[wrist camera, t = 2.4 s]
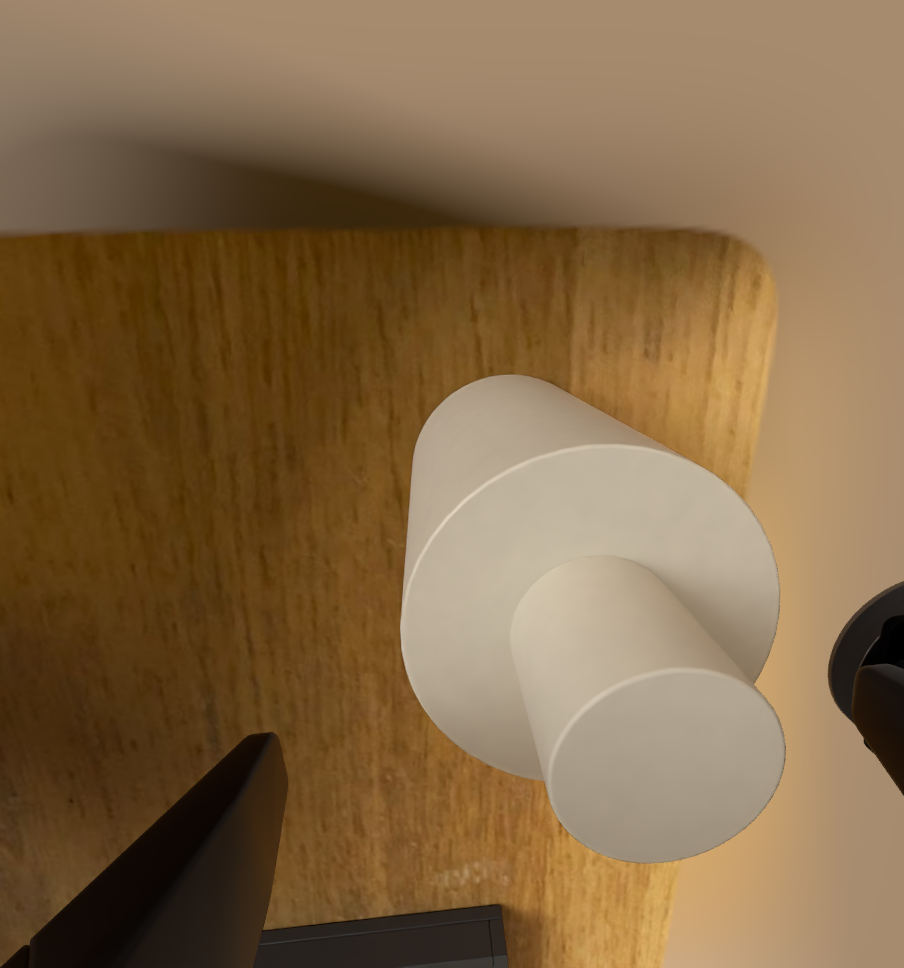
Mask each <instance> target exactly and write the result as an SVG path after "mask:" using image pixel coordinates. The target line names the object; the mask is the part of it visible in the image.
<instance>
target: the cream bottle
mask: <svg viewBox="0 0 904 968" xmlns="http://www.w3.org/2000/svg"><path fill="white" fill-rule="evenodd" d="M779 611H780V586H779V577H778V568H777V565H776V561H775V558H774V554H773V551H772V547H771V544H770V542H769V540H768V538H767V536H766V533H765V531H764V529H763V527H762V525H761V524H760V522H759V520H758V519H757V517H756V516H755V514H754V513H753V511H752V510H751V508H750V507H749V505H748V504H747V503H746V502H745V501H744V500H743V499H742V498H741V497H740V496H739V495H738V494H737V492H736V491H735V490H734V489H733V488H732V487H730V486H729V485H728V484H727V483H725V482H724V481H723V480H721V479H720V478H719V477H718V476H716V475H715V474H714V473H712V472H710V471H709V470H707V469H705V468H703V467H702V466H700V465H698V464H696V463H695V462H693V461H691V460H689V459H687V458H686V457H684V456H682V455H680V454H678V453H677V452H675V451H673V450H671V449H669V448H667V447H666V446H664V445H662V444H660V443H658V442H657V441H655V440H653V439H651V438H649V437H648V436H646V435H644V434H642V433H640V432H638V431H637V430H635V429H633V428H631V427H629V426H628V425H626V424H624V423H622V422H620V421H618V420H617V419H615V418H613V417H611V416H609V415H608V414H606V413H604V412H602V411H600V410H598V409H597V408H595V407H593V406H591V405H589V404H588V403H586V402H584V401H582V400H580V399H578V398H577V397H575V396H573V395H571V394H569V393H568V392H566V391H564V390H562V389H560V388H558V387H557V386H555V385H553V384H551V383H548V382H546V381H543V380H541V379H537V378H533V377H529V376H523V375H499V376H492V377H487V378H484V379H481V380H477V381H475V382H473V383H470V384H468V385H466V386H464V387H462V388H461V389H459V390H457V391H456V392H454V393H453V394H451V395H450V396H449V397H448V398H446V399H445V400H444V401H443V402H442V403H441V404H440V405H439V406H438V407H437V408H436V409H435V410H434V411H433V413H432V414H431V416H430V417H429V418H428V420H427V421H426V423H425V425H424V427H423V429H422V430H421V432H420V435H419V438H418V440H417V443H416V447H415V451H414V455H413V465H412V478H411V491H410V504H409V517H408V531H407V544H406V557H405V570H404V584H403V597H402V610H401V623H400V631H401V649H402V654H403V659H404V664H405V668H406V672H407V675H408V677H409V680H410V683H411V685H412V688H413V691H414V692H415V694H416V696H417V698H418V700H419V701H420V703H421V705H422V707H423V709H424V710H425V711H426V713H427V714H428V715H429V717H430V718H431V719H432V721H433V722H434V723H435V725H436V726H437V727H438V728H439V729H440V730H441V731H442V732H443V733H444V734H445V735H446V736H447V737H448V738H449V739H450V740H451V741H452V742H453V743H455V744H456V745H457V746H459V747H460V748H461V749H463V750H464V751H465V752H467V753H468V754H470V755H471V756H473V757H475V758H477V759H478V760H480V761H482V762H484V763H485V764H487V765H490V766H492V767H494V768H497V769H499V770H502V771H504V772H506V773H510V774H513V775H517V776H520V777H524V778H528V779H533V780H540V781H545V785H546V789H547V793H548V796H549V800H550V803H551V806H552V808H553V810H554V812H555V814H556V816H557V818H558V820H559V821H560V822H561V824H562V825H563V827H564V828H565V829H566V830H567V831H568V832H569V833H570V834H571V835H572V836H573V837H574V838H575V839H576V840H577V841H579V842H580V843H581V844H583V845H584V846H585V847H587V848H589V849H591V850H593V851H595V852H596V853H599V854H601V855H604V856H606V857H609V858H613V859H617V860H621V861H626V862H633V863H664V862H671V861H677V860H681V859H685V858H689V857H693V856H696V855H698V854H701V853H704V852H706V851H709V850H711V849H713V848H715V847H717V846H719V845H721V844H723V843H724V842H726V841H728V840H730V839H731V838H733V837H734V836H736V835H737V834H738V833H740V832H741V831H742V830H744V829H745V828H746V827H747V826H748V825H749V824H750V823H751V822H752V821H754V819H756V818H757V816H758V815H759V814H760V813H761V812H762V811H763V809H764V808H765V807H766V805H767V804H768V802H769V801H770V800H771V798H772V797H773V795H774V792H775V790H776V789H777V787H778V785H779V782H780V779H781V776H782V773H783V769H784V763H785V750H786V746H785V739H784V733H783V730H782V727H781V723H780V720H779V718H778V716H777V714H776V712H775V710H774V708H773V707H772V706H771V704H769V702H768V700H767V699H766V698H765V697H764V696H763V695H762V693H761V692H760V691H759V690H758V689H757V688H756V687H755V686H754V683H755V682H756V680H757V678H758V677H759V675H760V673H761V671H762V669H763V667H764V664H765V662H766V660H767V658H768V656H769V653H770V650H771V647H772V644H773V641H774V638H775V634H776V629H777V624H778V618H779Z"/></svg>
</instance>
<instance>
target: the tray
mask: <svg viewBox="0 0 904 968" xmlns="http://www.w3.org/2000/svg"><path fill="white" fill-rule="evenodd" d="M253 968H508V956H507V948H506V940H505V932H504V925H503V917H502V909H501V906H500V905H493V906H484V907H475V908H466V909H457V910H448V911H439V912H431V913H422V914H413V915H404V916H395V917H386V918H377V919H368V920H359V921H350V922H341V923H332V924H323V925H315V926H306V927H297V928H288V929H279V930H270V931H262V934H261V938H260V942H259V946H258V949H257V953H256V957H255V961H254V965H253Z"/></svg>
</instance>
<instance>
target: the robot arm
mask: <svg viewBox="0 0 904 968" xmlns="http://www.w3.org/2000/svg"><path fill="white" fill-rule="evenodd" d="M897 629H898V630H897ZM852 717H853V721H854V723H855V725H856V727H857V729H858V730H859V732H860V733H861V735H862V736H863V738H864V744H865V746H866V747H867V748H868V749H869V750H870V751H871V752H872V753H874V754H875V755H876V756H877V758H878V759H879V761H880V762H881V764H882V765H883V767H884V768H885V769H886V771H887V772H888V773H889V775H890V777H891V778H892V779H893V781H894V782H895V784H896V785H897V786H898V788H899V790H900V791H901V793H902V794H903V795H904V615H896V616H892V617H890V618H889V619H887V620H886V621H885V622H884V623H883V626H882V630H881V636H880V642H879V648H878V654H877V660H876V665H870V666H864V667H862V668H860V669H859V670H858V672H857V674H856V680H855V687H854V695H853V702H852ZM287 790H288V777H287V771H286V767H285V762H284V758H283V754H282V749H281V745H280V741H279V738H278V736H277V734H275V733H273V732H268V733H259V734H252V735H249V736H247V737H246V738H244V739H243V740H242V741H241V742H240V743H239V744H238V745H237V746H236V747H235V748H234V749H233V750H232V751H231V752H230V753H228V754H227V755H226V756H225V757H224V758H223V759H222V760H221V761H220V762H219V763H218V764H217V765H216V766H215V767H214V768H213V769H211V770H210V771H209V772H208V773H207V774H206V775H205V776H204V777H203V778H202V779H201V780H200V781H199V782H198V783H197V784H195V785H194V786H193V787H192V788H191V789H190V790H189V791H188V792H187V793H186V794H185V795H184V796H183V797H182V798H181V799H179V800H178V801H177V802H176V803H175V804H174V805H173V806H172V807H171V808H170V809H169V810H168V811H167V812H166V813H165V814H164V815H162V816H161V817H160V818H159V819H158V820H157V821H156V822H155V823H154V824H153V825H152V826H151V827H150V828H149V829H148V830H146V831H145V832H144V833H143V834H142V835H141V836H140V837H139V838H138V839H137V840H136V841H135V842H134V843H133V844H132V845H131V846H129V847H128V848H127V849H126V850H125V851H124V852H123V853H122V854H121V855H120V856H119V857H118V858H117V859H116V860H115V861H113V862H112V863H111V864H110V865H109V866H108V867H107V868H106V869H105V870H104V871H103V872H102V873H101V874H100V875H99V876H97V877H96V878H95V879H94V880H93V881H92V882H91V883H90V884H89V885H88V886H87V887H86V888H85V889H84V890H83V891H82V892H80V893H79V894H78V895H77V896H76V897H75V898H74V899H73V900H72V901H71V902H70V903H69V904H68V905H67V906H66V907H64V908H63V909H62V910H61V911H60V912H59V913H58V914H57V915H56V916H55V917H54V918H53V919H52V920H51V921H50V922H48V923H47V924H46V925H45V926H44V927H43V928H42V929H41V930H40V931H39V932H38V933H37V934H36V935H35V936H34V937H33V938H32V939H31V941H30V946H29V945H24V946H23V947H22V948H21V949H19V950H18V951H17V952H16V953H15V954H14V955H13V956H12V957H11V958H10V959H9V960H8V961H7V962H6V963H5V964H3V965H2V966H1V967H0V968H253V965H254V961H255V957H256V953H257V949H258V946H259V942H260V938H261V934H262V930H263V926H264V923H265V919H266V914H267V910H268V906H269V902H270V897H271V891H272V885H273V880H274V873H275V867H276V861H277V854H278V848H279V842H280V835H281V829H282V823H283V816H284V810H285V804H286V797H287Z"/></svg>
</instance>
